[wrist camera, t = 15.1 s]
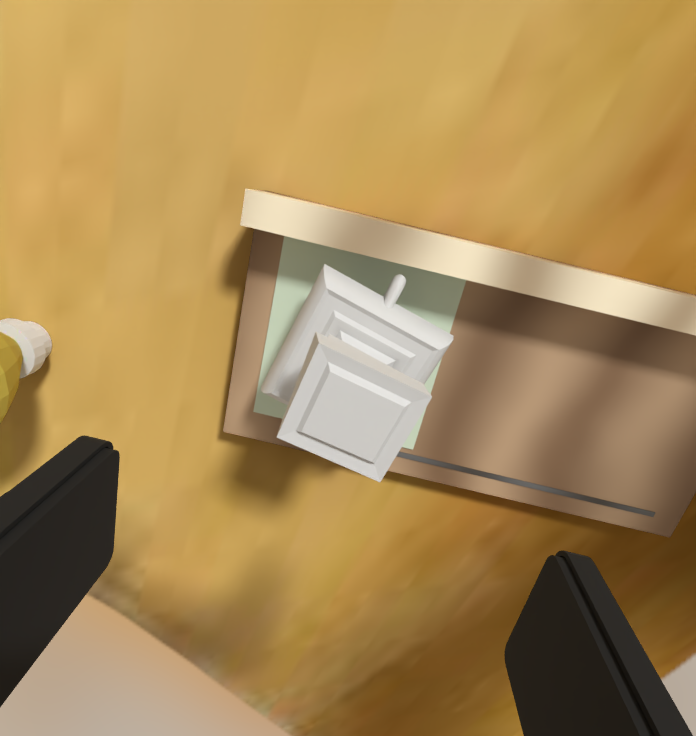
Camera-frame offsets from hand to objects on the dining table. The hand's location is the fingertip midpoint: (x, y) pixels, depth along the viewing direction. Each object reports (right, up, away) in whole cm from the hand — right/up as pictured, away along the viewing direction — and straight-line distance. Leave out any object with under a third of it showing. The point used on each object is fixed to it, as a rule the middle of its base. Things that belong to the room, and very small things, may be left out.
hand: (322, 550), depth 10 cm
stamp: (+1, +5, +14) cm, 15 cm away
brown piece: (+8, +4, +16) cm, 18 cm away
